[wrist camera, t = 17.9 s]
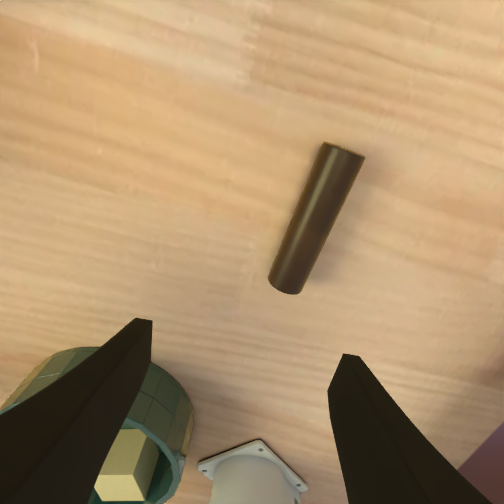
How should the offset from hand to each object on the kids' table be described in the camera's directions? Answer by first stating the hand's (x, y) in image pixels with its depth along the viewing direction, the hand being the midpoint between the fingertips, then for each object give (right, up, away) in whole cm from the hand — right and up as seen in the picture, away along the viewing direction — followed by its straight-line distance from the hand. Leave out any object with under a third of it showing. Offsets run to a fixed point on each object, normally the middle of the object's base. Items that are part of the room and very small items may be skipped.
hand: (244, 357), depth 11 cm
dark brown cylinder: (+2, +2, +9) cm, 9 cm away
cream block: (-11, -15, +18) cm, 26 cm away
